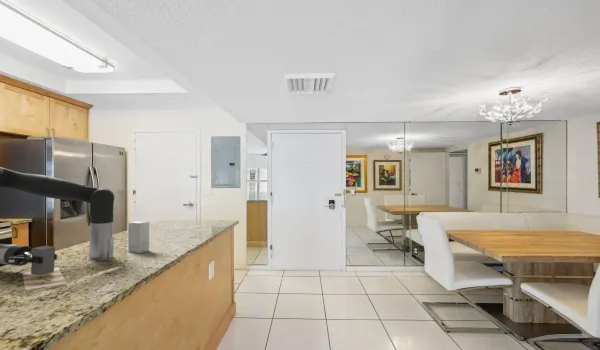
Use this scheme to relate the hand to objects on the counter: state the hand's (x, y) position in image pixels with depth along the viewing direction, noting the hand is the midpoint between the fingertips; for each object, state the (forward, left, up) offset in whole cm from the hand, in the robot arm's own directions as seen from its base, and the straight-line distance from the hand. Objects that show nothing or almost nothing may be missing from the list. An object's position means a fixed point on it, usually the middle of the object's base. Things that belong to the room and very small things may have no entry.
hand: (49, 258), depth 114 cm
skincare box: (-23, -41, -8) cm, 48 cm away
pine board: (+1, +1, -8) cm, 8 cm away
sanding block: (+2, -1, -6) cm, 7 cm away
